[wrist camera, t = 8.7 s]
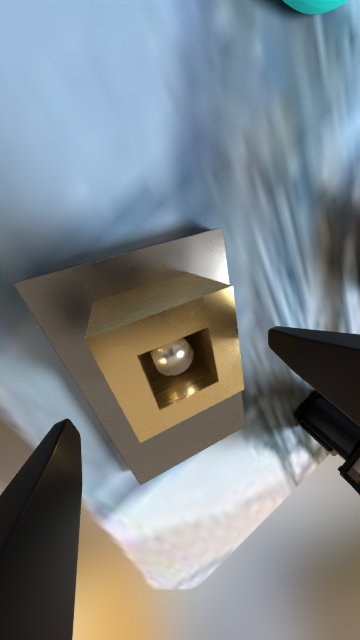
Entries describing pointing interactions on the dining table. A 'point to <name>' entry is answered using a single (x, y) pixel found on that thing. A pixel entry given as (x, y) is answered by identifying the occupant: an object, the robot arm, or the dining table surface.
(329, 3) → the donuts
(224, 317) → the brass collar
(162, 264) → the base plate
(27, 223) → the dining table surface
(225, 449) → the dining table surface
